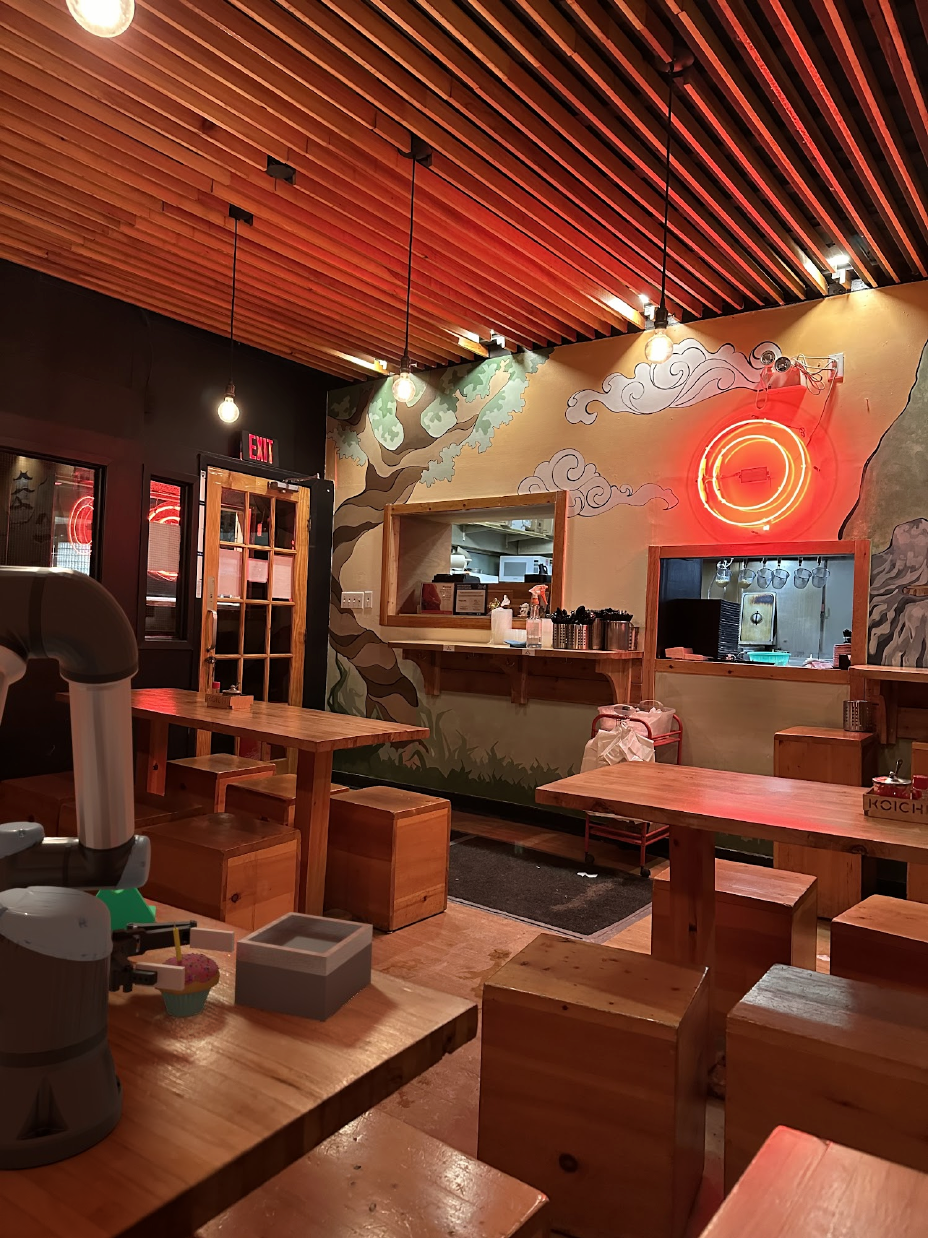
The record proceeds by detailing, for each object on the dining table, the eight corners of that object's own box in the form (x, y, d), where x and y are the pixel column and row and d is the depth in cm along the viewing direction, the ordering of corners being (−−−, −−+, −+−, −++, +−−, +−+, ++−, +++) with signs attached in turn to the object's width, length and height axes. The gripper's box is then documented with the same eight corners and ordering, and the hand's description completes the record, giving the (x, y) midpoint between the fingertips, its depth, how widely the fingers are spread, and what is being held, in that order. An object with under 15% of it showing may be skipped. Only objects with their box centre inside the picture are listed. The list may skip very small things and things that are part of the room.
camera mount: (155, 920, 150) (157, 861, 151) (154, 934, 143) (156, 873, 143) (81, 925, 147) (83, 865, 147) (76, 941, 139) (78, 878, 140)
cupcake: (167, 1029, 109) (171, 935, 109) (141, 1007, 115) (145, 918, 116) (229, 1011, 115) (232, 922, 115) (201, 991, 121) (204, 906, 121)
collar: (326, 976, 113) (326, 957, 113) (236, 960, 117) (236, 941, 117) (372, 942, 126) (372, 924, 126) (289, 928, 130) (290, 912, 131)
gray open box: (324, 1022, 112) (326, 976, 113) (234, 1003, 117) (236, 960, 117) (370, 982, 126) (372, 942, 126) (288, 967, 130) (289, 928, 130)
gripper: (122, 940, 131) (249, 954, 127) (3, 1008, 107) (157, 1028, 102) (123, 891, 131) (251, 903, 127) (6, 947, 107) (159, 965, 102)
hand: (209, 959), depth 115 cm, fingers open, 13 cm apart
